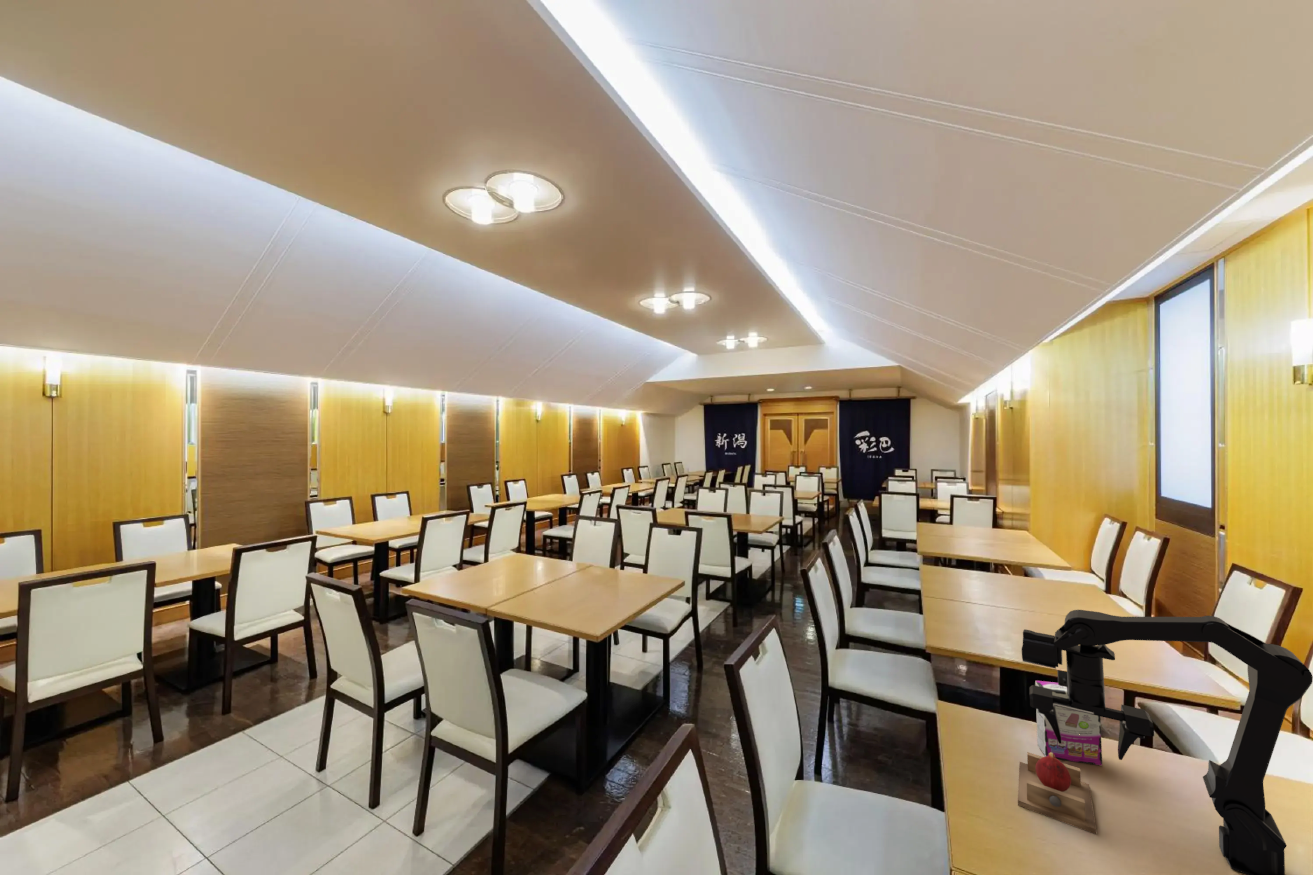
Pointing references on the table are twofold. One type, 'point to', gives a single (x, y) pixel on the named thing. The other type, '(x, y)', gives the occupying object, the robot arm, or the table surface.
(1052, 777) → the onion
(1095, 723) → the candy bar box
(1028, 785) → the cup
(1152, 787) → the table surface
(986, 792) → the table surface
